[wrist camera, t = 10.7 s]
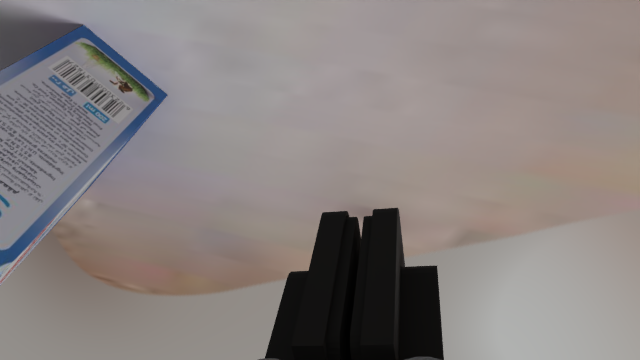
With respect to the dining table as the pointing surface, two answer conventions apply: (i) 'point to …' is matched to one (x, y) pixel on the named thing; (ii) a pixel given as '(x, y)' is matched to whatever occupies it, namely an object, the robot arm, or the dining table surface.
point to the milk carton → (62, 132)
